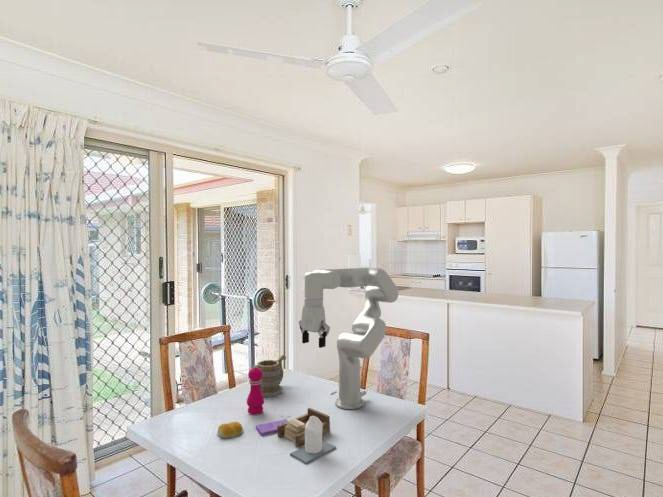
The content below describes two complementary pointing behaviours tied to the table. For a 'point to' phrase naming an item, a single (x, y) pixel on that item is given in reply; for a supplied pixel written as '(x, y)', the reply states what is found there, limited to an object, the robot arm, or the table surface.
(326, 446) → the mat
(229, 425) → the bread roll
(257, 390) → the pepper mill
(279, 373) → the mortar and pestle
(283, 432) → the rack
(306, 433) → the white tall rounded lump
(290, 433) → the offcut stack
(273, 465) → the table surface
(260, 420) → the table surface
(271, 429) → the sponges
